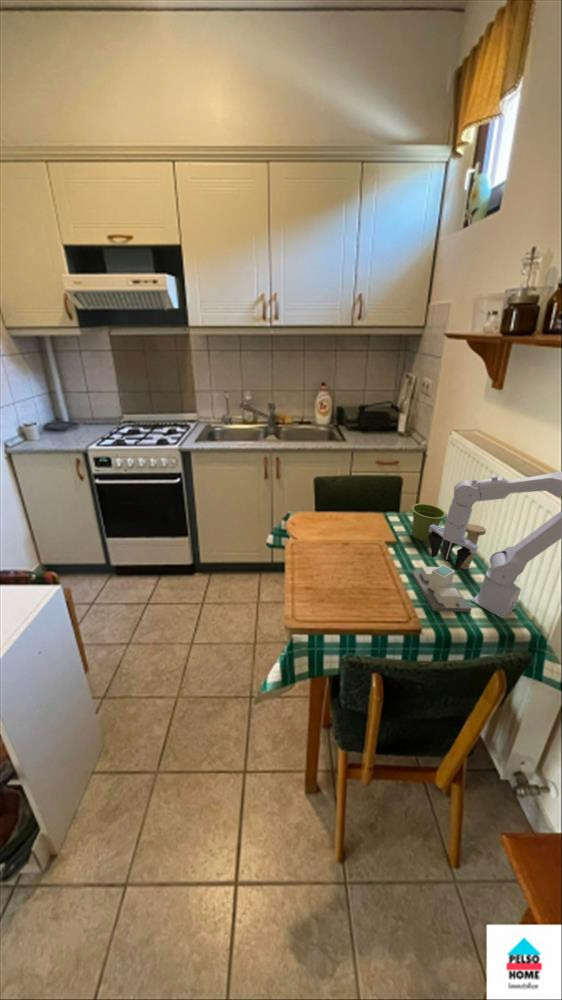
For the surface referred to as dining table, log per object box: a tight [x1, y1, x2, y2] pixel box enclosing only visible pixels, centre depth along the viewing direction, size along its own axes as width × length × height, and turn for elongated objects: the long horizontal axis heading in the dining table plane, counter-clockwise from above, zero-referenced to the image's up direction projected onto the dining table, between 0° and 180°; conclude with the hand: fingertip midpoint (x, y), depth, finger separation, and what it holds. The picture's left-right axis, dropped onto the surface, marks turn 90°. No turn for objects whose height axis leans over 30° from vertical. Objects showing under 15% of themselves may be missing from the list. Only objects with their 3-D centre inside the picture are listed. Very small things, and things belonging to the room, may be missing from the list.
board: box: [411, 565, 472, 613], centre depth 126 cm, size 18×11×4 cm, turn 4°
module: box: [428, 564, 456, 592], centre depth 125 cm, size 4×6×6 cm, turn 130°
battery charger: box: [440, 538, 459, 561], centre depth 145 cm, size 7×4×11 cm, turn 169°
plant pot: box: [411, 503, 446, 542], centre depth 156 cm, size 12×12×11 cm
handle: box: [460, 523, 487, 570], centre depth 138 cm, size 5×6×15 cm
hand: (445, 562), depth 125 cm, fingers open, 7 cm apart
